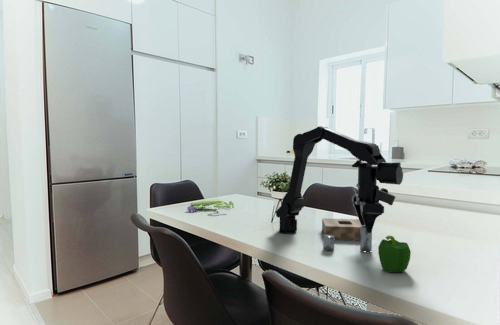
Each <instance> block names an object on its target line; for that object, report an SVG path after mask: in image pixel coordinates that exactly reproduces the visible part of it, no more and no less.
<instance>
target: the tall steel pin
mask: <svg viewBox="0 0 500 325" xmlns="http://www.w3.org/2000/svg"><path fill="white" fill-rule="evenodd" d="M372 243H373V231H372V232H371V233H368V232H367V230H366V227H365V226H361V227H360V241H359V251H360V250H361V251H366V252H370V251H373V250H372V248H373V245H372ZM361 251H360V252H361Z"/></svg>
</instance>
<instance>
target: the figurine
mask: <svg viewBox="0 0 500 325" xmlns="http://www.w3.org/2000/svg"><path fill="white" fill-rule="evenodd" d="M210 206H213V208H217V209H221V208H222V209H223V208H228V209H233V208H235V206H234V202H232V201H231V200H229V202H226V201H224V200H222V199H204V200H198V201H195V202H190V205H189V206H187V209H188V212H190V213H197V210H198V209H201V210H202V209H203V207H208V208H210V209H211V207H210Z"/></svg>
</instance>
